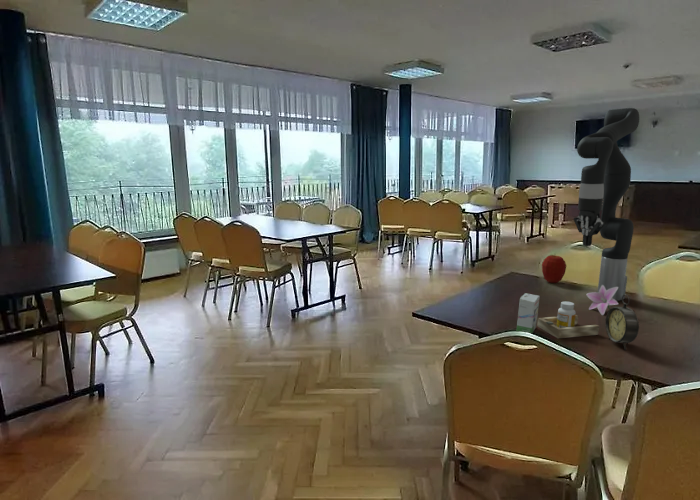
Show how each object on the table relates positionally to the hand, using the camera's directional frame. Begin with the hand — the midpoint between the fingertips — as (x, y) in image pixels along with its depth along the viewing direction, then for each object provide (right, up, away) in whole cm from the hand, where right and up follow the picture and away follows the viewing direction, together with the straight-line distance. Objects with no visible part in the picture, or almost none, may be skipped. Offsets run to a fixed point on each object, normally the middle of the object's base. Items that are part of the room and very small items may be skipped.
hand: (586, 245), depth 164 cm
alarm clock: (+1, -31, -19) cm, 37 cm away
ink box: (-24, -29, -8) cm, 38 cm away
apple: (+10, -17, +51) cm, 55 cm away
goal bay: (-11, -29, -8) cm, 32 cm away
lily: (+12, -25, +12) cm, 30 cm away
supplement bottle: (-11, -29, -8) cm, 32 cm away
